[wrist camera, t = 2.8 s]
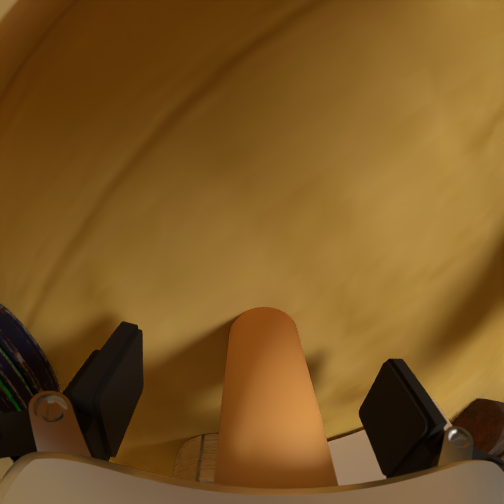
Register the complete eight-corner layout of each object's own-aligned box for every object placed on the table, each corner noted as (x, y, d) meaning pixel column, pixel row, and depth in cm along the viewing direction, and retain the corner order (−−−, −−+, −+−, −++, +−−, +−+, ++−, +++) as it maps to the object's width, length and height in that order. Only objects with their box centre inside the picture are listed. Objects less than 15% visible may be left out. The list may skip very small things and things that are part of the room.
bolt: (484, 432, 20) (448, 407, 17) (519, 417, 16) (501, 385, 13) (483, 474, 15) (446, 471, 12) (520, 461, 12) (505, 454, 9)
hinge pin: (270, 293, 12) (303, 512, 3) (310, 340, 12) (367, 527, 4) (214, 332, 12) (180, 534, 4) (257, 373, 13) (264, 555, 4)
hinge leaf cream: (204, 489, 16) (197, 562, 9) (158, 442, 14) (134, 534, 7) (428, 429, 15) (465, 496, 8) (437, 366, 13) (499, 447, 6)
